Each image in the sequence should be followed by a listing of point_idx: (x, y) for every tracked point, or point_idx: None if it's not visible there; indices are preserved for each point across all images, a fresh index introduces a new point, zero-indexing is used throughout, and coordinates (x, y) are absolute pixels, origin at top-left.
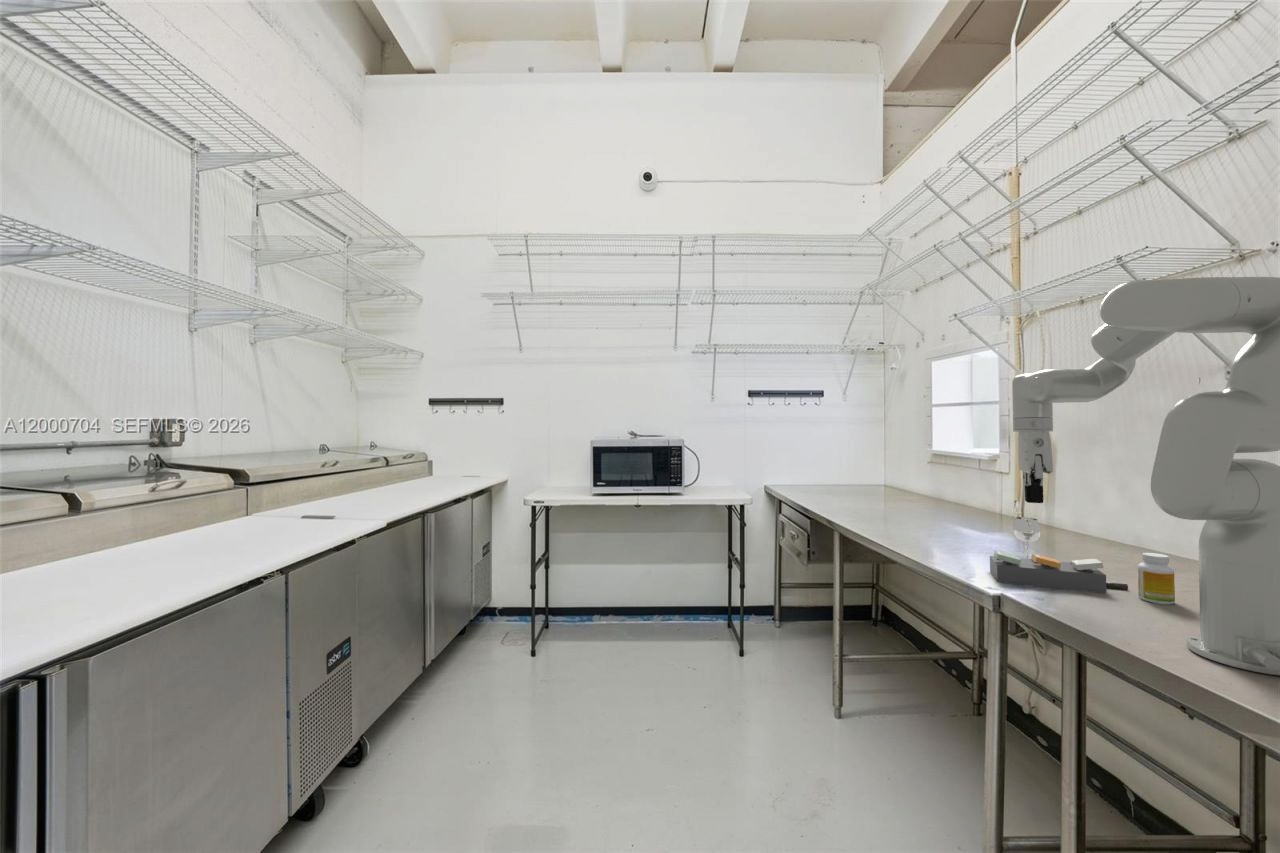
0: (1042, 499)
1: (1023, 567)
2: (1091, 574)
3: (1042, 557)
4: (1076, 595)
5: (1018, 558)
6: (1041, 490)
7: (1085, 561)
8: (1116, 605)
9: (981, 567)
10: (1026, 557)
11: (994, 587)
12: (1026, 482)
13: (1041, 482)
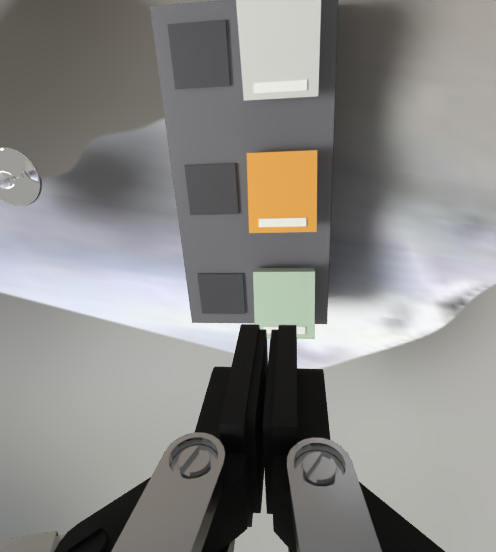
0: (295, 341)
1: (326, 258)
2: (336, 46)
3: (283, 206)
4: (398, 114)
5: (294, 275)
6: (294, 402)
7: (277, 51)
8: (488, 13)
9: (165, 310)
10: (3, 184)
11: (386, 311)
12: (230, 546)
13: (359, 494)
